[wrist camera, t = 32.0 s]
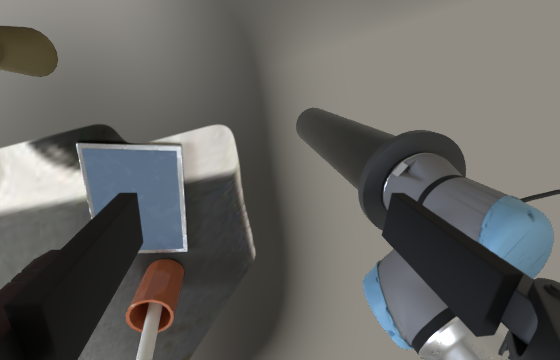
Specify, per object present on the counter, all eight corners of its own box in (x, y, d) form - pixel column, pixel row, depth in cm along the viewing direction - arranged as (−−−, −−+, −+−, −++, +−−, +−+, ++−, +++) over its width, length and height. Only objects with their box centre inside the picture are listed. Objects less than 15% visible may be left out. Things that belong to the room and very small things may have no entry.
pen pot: (183, 258, 50) (171, 298, 41) (185, 287, 53) (175, 331, 43) (144, 259, 49) (122, 301, 40) (148, 289, 51) (129, 335, 42)
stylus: (168, 263, 49) (141, 405, 34) (170, 269, 50) (144, 408, 36) (156, 264, 49) (122, 408, 34) (158, 270, 50) (127, 410, 35)
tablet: (182, 144, 43) (180, 146, 42) (188, 249, 50) (187, 252, 49) (78, 141, 40) (75, 143, 39) (100, 251, 47) (98, 255, 46)
